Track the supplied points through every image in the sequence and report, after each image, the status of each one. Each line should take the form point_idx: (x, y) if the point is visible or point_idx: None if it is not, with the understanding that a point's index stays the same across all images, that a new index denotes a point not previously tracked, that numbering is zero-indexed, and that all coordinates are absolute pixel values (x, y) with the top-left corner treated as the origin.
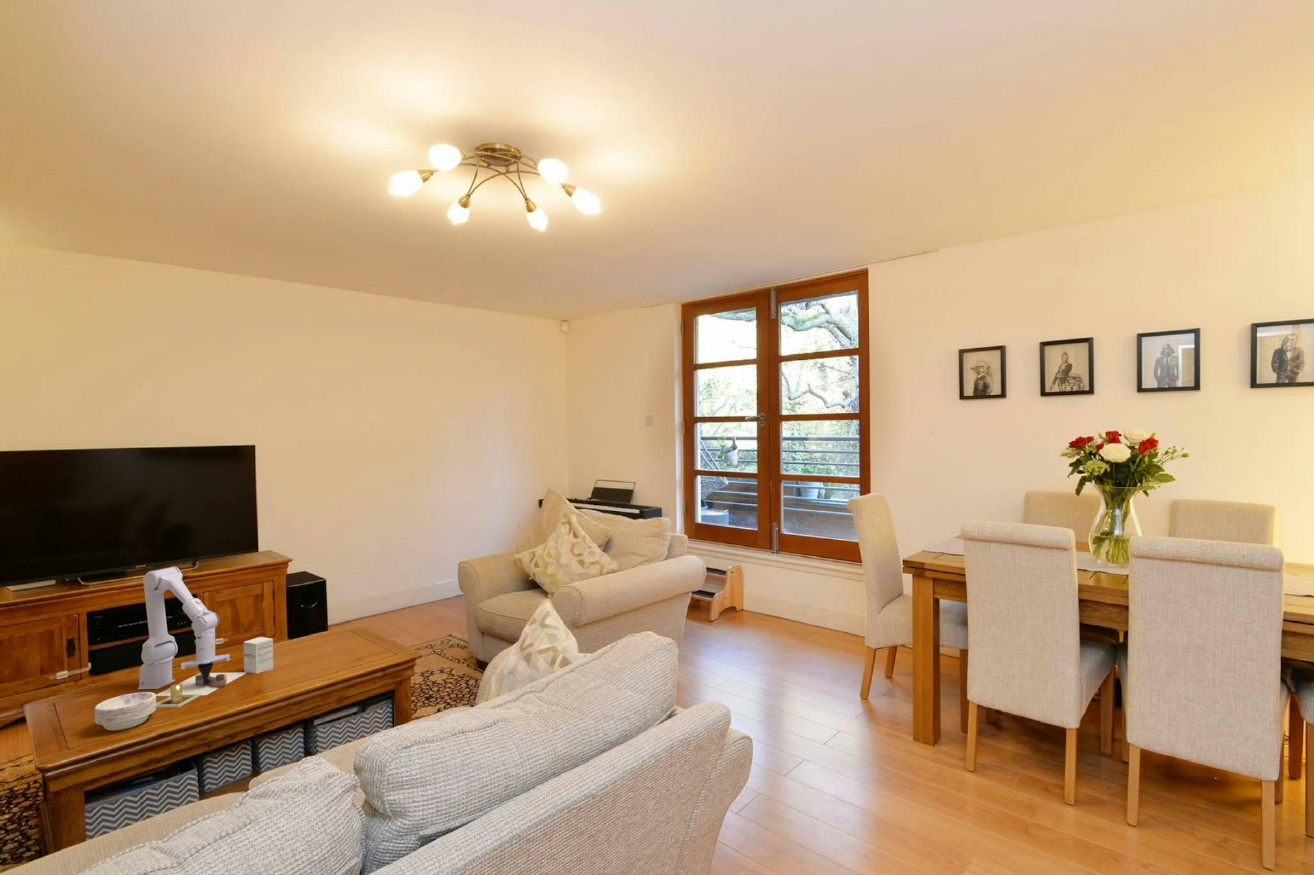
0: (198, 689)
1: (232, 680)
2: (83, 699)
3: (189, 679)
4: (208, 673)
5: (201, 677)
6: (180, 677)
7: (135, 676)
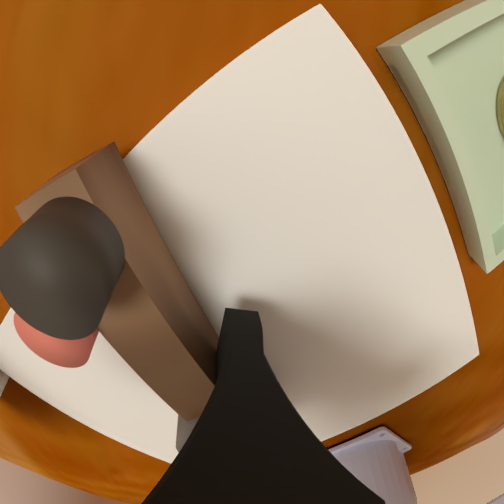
0: (306, 288)
1: None
2: (484, 426)
3: None
4: (212, 421)
5: None
6: None
7: None
